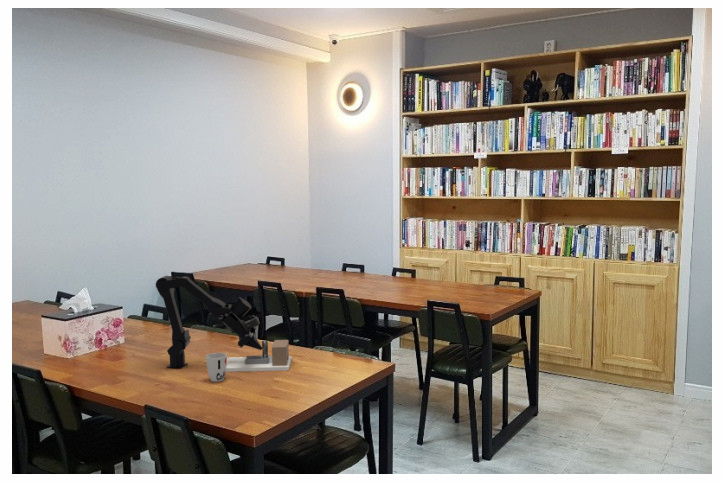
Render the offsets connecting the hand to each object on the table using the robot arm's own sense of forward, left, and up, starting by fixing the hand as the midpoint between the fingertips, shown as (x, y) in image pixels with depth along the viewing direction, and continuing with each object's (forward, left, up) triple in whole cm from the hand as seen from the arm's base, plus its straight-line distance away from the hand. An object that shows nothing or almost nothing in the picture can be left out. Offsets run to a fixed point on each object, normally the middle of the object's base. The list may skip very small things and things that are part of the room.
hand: (261, 349), depth 262 cm
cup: (-23, +8, -7) cm, 25 cm away
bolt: (+2, -5, -5) cm, 7 cm away
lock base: (-1, +3, -7) cm, 8 cm away
